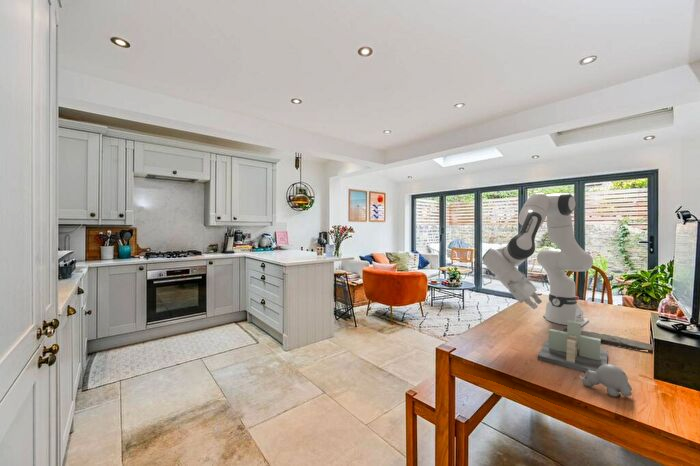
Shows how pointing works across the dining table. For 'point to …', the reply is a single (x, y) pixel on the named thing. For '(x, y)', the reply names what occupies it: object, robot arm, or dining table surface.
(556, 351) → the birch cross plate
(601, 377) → the chubby cartoon animal
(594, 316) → the dining table surface
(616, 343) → the stone slab
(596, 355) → the sage slotted plate
